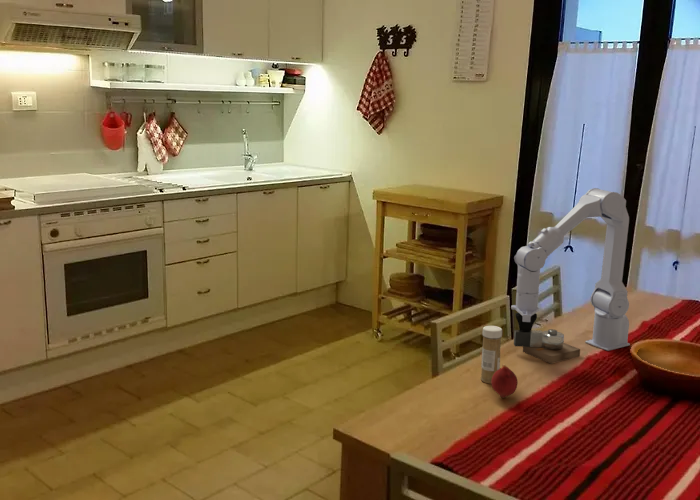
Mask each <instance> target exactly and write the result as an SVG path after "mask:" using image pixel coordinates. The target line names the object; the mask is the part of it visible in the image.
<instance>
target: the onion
mask: <svg viewBox="0 0 700 500" xmlns="http://www.w3.org/2000/svg"><path fill="white" fill-rule="evenodd" d="M490 385H491V387H492V388H493V390H494V391H495V392H496V393H497V394H498V396H500V397H501V398H503V399H505V398H507V397H508V396H511V395H512V394H513V393H515V392H516V390H517V388H518V378H517V375H516V374H515V373H514V371H513V370H511V369H510V368H509V367H508V366H507V365H506V364H505V363H502V367H500V369H498V370H497V371H496V372H495V373H494V375H493V377H492V380H491V384H490Z"/></svg>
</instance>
